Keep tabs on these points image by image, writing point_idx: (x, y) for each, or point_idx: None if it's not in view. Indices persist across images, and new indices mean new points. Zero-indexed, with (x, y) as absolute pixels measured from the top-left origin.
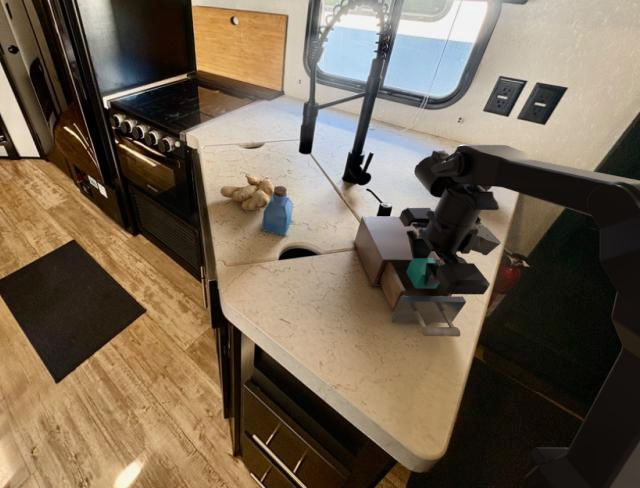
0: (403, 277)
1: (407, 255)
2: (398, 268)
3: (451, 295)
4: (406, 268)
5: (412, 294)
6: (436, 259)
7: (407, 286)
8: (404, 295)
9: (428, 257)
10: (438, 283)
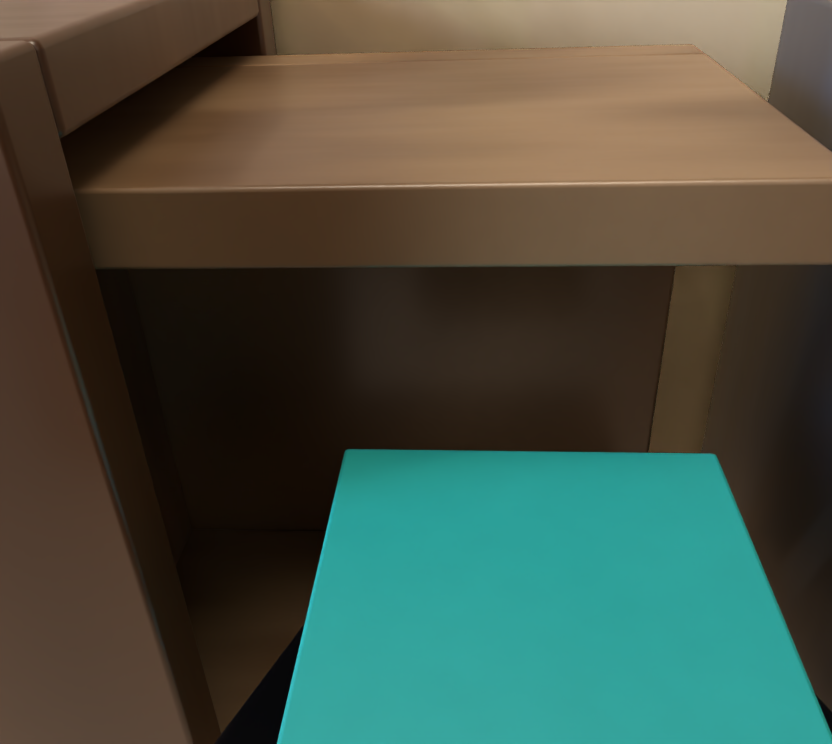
0: (238, 342)
1: (85, 705)
2: (137, 404)
3: (806, 132)
4: (113, 315)
5: (482, 345)
6: (38, 283)
7: (371, 354)
8: (494, 426)
9: (22, 416)
10: (758, 563)
